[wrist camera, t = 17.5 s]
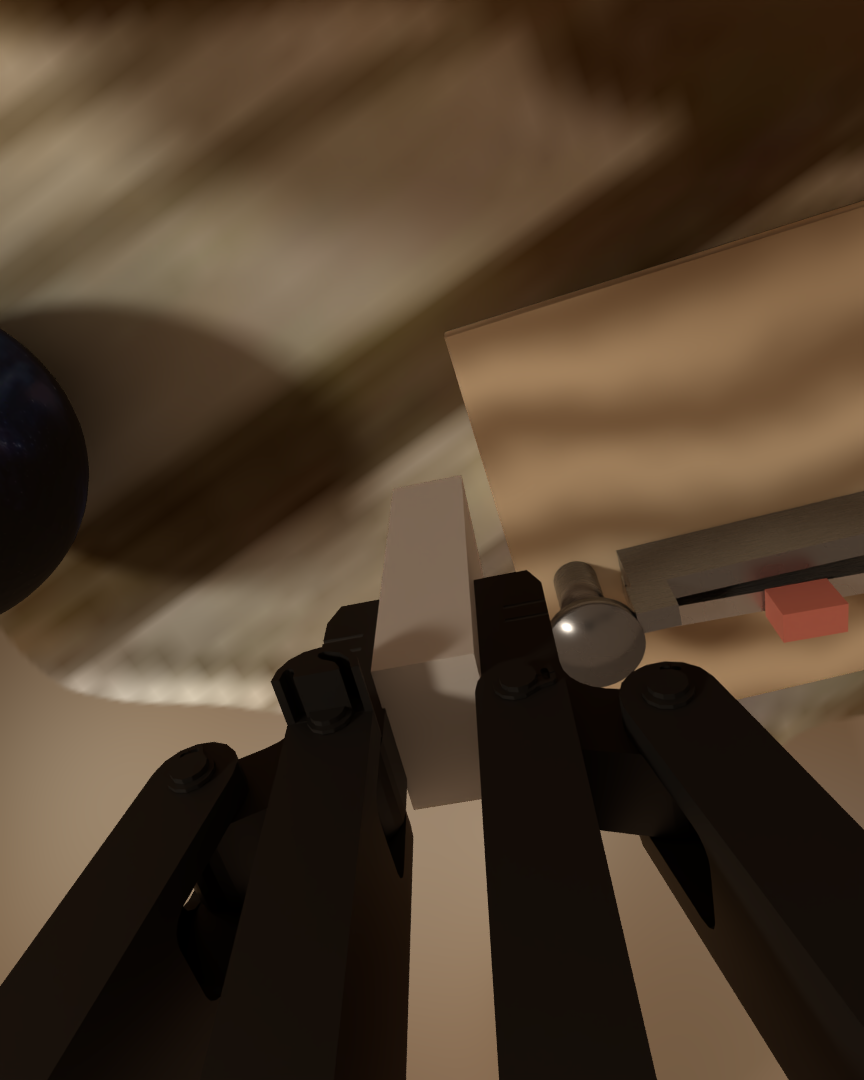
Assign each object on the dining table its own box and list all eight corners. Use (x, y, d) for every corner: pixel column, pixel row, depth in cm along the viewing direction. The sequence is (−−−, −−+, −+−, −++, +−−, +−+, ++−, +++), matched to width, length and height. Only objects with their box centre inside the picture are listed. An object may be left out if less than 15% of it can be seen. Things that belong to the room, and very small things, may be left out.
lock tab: (765, 616, 41) (783, 642, 39) (764, 589, 40) (782, 615, 38) (826, 605, 40) (848, 631, 38) (826, 578, 40) (848, 603, 38)
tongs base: (557, 604, 46) (571, 660, 41) (550, 565, 44) (564, 618, 40) (899, 541, 44) (957, 592, 39) (901, 499, 42) (960, 547, 38)
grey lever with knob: (542, 626, 46) (557, 697, 40) (523, 555, 44) (536, 619, 38) (903, 543, 43) (974, 605, 38) (902, 463, 41) (976, 516, 36)
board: (444, 332, 40) (444, 337, 39) (905, 187, 37) (919, 189, 36) (564, 726, 51) (567, 739, 50) (925, 641, 48) (936, 652, 47)
